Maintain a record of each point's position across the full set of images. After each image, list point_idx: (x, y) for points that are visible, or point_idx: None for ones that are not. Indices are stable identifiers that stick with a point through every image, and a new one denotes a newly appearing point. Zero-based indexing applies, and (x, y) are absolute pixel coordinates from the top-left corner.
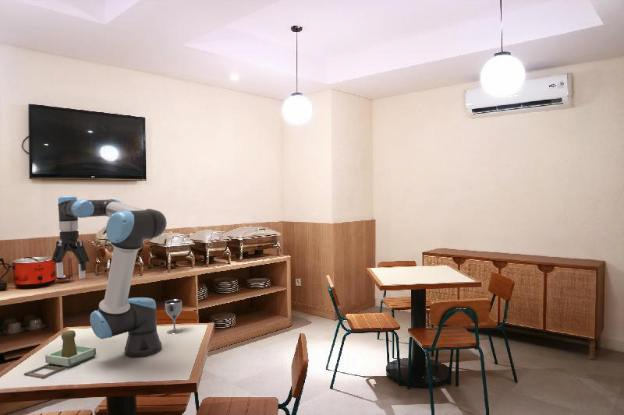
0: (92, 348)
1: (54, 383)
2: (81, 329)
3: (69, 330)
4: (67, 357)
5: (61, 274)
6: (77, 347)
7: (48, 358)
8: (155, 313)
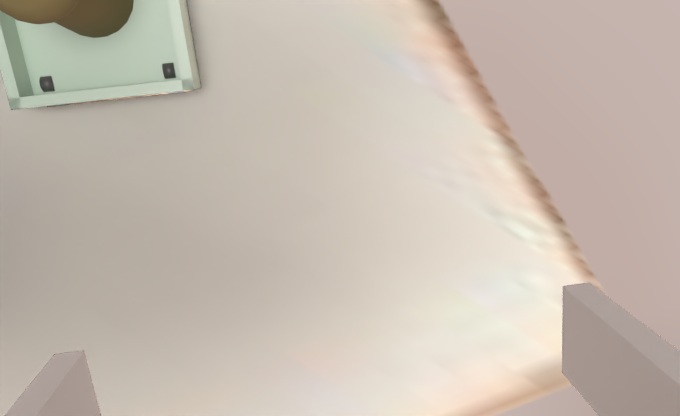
0: (16, 93)
1: None
2: (543, 352)
3: None
4: None
5: (581, 362)
6: (146, 83)
7: None
8: None
